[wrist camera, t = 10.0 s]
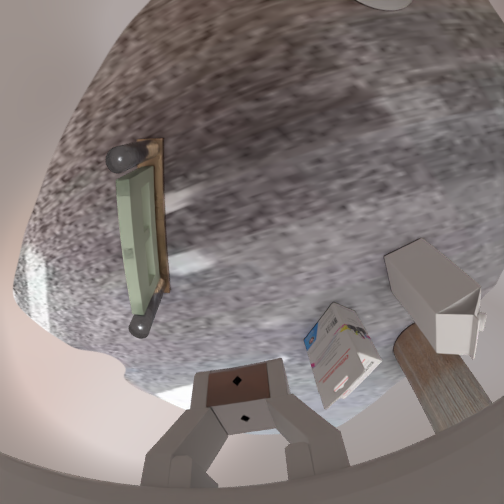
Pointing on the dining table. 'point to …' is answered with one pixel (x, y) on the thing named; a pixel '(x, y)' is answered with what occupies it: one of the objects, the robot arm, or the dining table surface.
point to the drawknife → (153, 155)
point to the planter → (439, 380)
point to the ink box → (340, 353)
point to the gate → (138, 235)
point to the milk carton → (437, 297)
